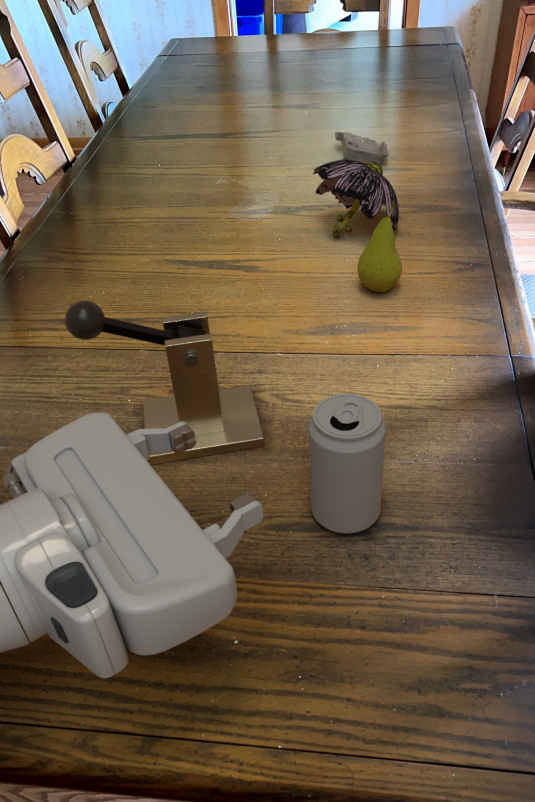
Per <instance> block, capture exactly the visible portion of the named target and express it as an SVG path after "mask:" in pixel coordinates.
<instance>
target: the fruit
mask: <svg viewBox="0 0 535 802" xmlns="http://www.w3.org/2000/svg"><path fill="white" fill-rule="evenodd" d="M395 203H396V202H395V201H392V204H391V210H390V212H389V215H388V216H387V215H386V216H385V217H383V218H382V219H381V220H380V221H379V222H378V224H377V226H376V227H375V229H374V230H373V232H372V235H371V237H370V239H369V240H368V243H367V245H366V247H365V248H364V250H363V251H362V252H361V254H360V256H359V258H358V262H357V267H356V268H357V269H356V270H357V276H358V278H359V281H360V282H361V283H362V284H363V285H364V286H365V287H366V288H367V289H369V290H370V291H372V292H374V293H386V292H388V291H390V290H391V289H392V288H393V287H394V286H395V284H397V283H398V282H399V280H400V278H401V276H402V272H403V263H402V260H401V257H400V255H399V252H398V251H397V247H396V239H395V233H394V232H395V231H393V228H392V223H391V219H390V216H391V214H392V211H393V208H394V205H395Z"/></svg>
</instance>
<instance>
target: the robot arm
mask: <svg viewBox="0 0 535 802" xmlns="http://www.w3.org/2000/svg"><path fill="white" fill-rule="evenodd" d="M195 445H196V439H195V433H194V431H193V430H192V429H191V428H190V427H189V426H188V425H187V424H186V423H185V422H184V421H181V422H179V423H177V424H174V425H172V426H170V427H168V428H166V429H164V428H153V429H145V428H138V429H135V430H133V431H131V432H129V433H127V434H126V432H125V431H124V430H123V429H122V427H121V426H120V425H119V424H118V423H117V422H116V421H115V419H114V418H113V416H112V415H111V414H110V413H109V412H103V411H101V412H90V413H88V414H85V415H83V416H81V417H78V418H77V419H75V420H73V421H71V422H69V423H67V424H66V425H64V426H62V427H60V428H58V429H56V430H55V431H52V432H50V433H49V434H48V435H46V436H45V437H43V438H41V439H40V440H38V441H37V442H35V443H34V444H32V446H30V447H29V448H28V450H27V451H26V452H24V453H21V454H19V455H17V456H16V457H15V458H12V459H11V462H10V464H9V466H8V467H7V468H6V472H5V474H4V476H3V477H2V478H3V479H2V482H3V486H4V487H5V489H6V491H7V492H8V493H9V494H10V496H11V498H12V499H10V500H8V501H6V502H3V503H1V504H0V654H1V653H4V652H7V651H11V650H14V649H19V648H21V647H25V646H27V645H29V644H31V643H33V642H34V641H36V640H38V639H40V638H41V637H43V636H46V635H48V637H49V638H50V639H51V640H52V641H53V642H55V643H56V644H58V645H59V646H60V647H61V648H63V649H64V650H65V651H66V652H68V653H69V654H70V655H71V656H72V657H74V658H75V659H76V660H77V661H79V662H80V663H81V665H83V666H85V668H87V669H88V670H89V671H90V672H92V673H93V674H94V675H95V676H96V677H98V678H101V679H108V678H112V677H114V676H115V675H117V674H118V673H120V672H122V670H124V669H125V668H126V667H127V665H128V664H129V654H128V652H127V651H129V652H131V653H133V654H135V655H138V656H154V655H158V654H160V653H163V652H166V651H168V650H170V649H173V648H175V647H178V646H179V645H182V644H183V643H185V642H187V641H189V640H191V639H192V638H194V637H197V636H198V635H200V634H202V633H204V632H206V631H207V630H209V629H211V628H212V627H214V626H216V625H217V624H219V623H220V622H222V621H223V620H225V619H226V618H227V617H228V616H230V614H231V613H232V612H233V609H234V607H235V605H236V603H237V600H238V587H237V586H238V585H237V579H236V574H235V570H234V568H233V566H232V565H231V564H230V562H229V561H228V560H227V559H228V558H229V557H231V556H232V554H233V553H234V550H235V549H236V547H237V545H239V542H240V541H241V539H242V537H243V535H244V532H245V531H247V530H250V529H251V528H253V527H254V526H256V525H257V524H259V523H261V522H262V521H263V519H264V517H265V514H264V505H262V504H261V503H260V501H259V500H257V498H255V496H254V495H253V494H252V493H251V492H245V493H243V494H242V496H241V497H236V498H234V499H232V500H231V501H229V509H230V511H231V512H230V515H229V517H228V518H227V520H226V521H225V522H224V523H223V525H222V526H221V528H220V526H219V525H218V524H217V523H213V524H211V525H209V526H208V527H206V528H204V529H203V528H202V527H201V526H200V525H199V523H198V522H196V520H195V519H194V518H193V516H192V515H191V514H190V512H189V511H188V509H186V507H185V506H184V505H183V503H181V501H180V499H178V498H177V496H176V495H175V494H174V492H173V491H172V490H171V489H170V488H169V486H168V485H167V484H166V483H165V482H164V480H163V479H162V478H161V477H160V475H159V474H158V473H157V471H156V470H155V468H154V467H153V465H150V464H149V463H148V462H147V460H149V459H150V455H149V454H151V453H157V452H164V451H171V450H173V451H174V452H175V454H176V455H179V454H182V453H184V452H185V451H186V450H189V449H192V448H193V447H194V446H195ZM13 471H14V472H13Z"/></svg>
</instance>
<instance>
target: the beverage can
mask: <svg viewBox="0 0 535 802" xmlns="http://www.w3.org/2000/svg"><path fill="white" fill-rule="evenodd" d="M386 430H387V429H386V421H385V420H384V418H383V414H382V410H381V408H380V407H379V405H378V404H377V403H376V402H375V401H374V400H372V399H370V398H368V397H367V396H363V395H361V394H356V393H338V394H333V395H330V396H328V397H325V398H324V399H322V400H321V401H319V402H318V403H317V405H315V407H314V409H313V412H312V416H311V418H310V420H309V421H308V451H309V454H308V456H309V483H310V484H309V485H310V486H309V488H310V490H309V491H310V510H311V514H312V515H313V517H314V519H315V520H316V522H317V523H318V524H320V525H321V526H322V527H323V528H324V529H327V530H329V531H331V532H334V533H339V534H354V533H355V534H356V533H359V532H362V531H365V530H367V529H369V528H370V527H372V526H373V525H374V524H375V523H376V521H378V518H379V516H380V514H381V509H382V493H383V477H384V462H385V445H386Z"/></svg>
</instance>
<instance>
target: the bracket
mask: <svg viewBox="0 0 535 802" xmlns="http://www.w3.org/2000/svg"><path fill="white" fill-rule="evenodd" d="M161 319H162V320H161V322H162V327H163V330H164V331H168V332H173V333H175V331H176V328H177V326H178V324H179V325H183V326H187V327H191V328H196V329H200V330H204V331H205V333H206V334H205V335H199V336H192V337H185V338H178V339H171V340H165V345H164V348H165V354H166V359H167V365H168V370H169V375H170V381H171V386H172V391H173V396H169V397H163V398H156V399H148V400H144V401H142V404H143V405H142V408H143V411H142V412H143V426H144V427H143V429H153V428H164V429H166V428H168V427H170V426H172V425H174V424H177V423H179V422H181V421H184V422H185V423H186V424H187V425H188V426H189V427H190V428H191V429H192V430H193V431H194V433H195V439H196V445H195V446H194V447H193V448H192V449H189V450H186V451H185V452H184V453H182V454H179V455H176V454H175V452H174V451H173V450H171V451H164V452H157V453H151V454H149V455H150V459H149V460H147V462H148V463H149V464H150V465H151V466H153V465H158V464H164V463H171V462H176V461H182V460H189V459H196V458H201V457H208V456H215V455H220V454H226V453H233V452H239V451H246V450H251V449H257V448H264V447H265V439H264V434H263V431H262V426H261V423H260V418H259V415H258V410H257V406H256V402H255V398H254V394H253V390H252V385H251V384H248V385H247V384H246V385H240V386H235V387H227V388H222V389H221V388H219V382H218V374H217V366H216V359H215V351H214V344H213V337H212V333H211V331H210V323H209V317H208V311H207V310H205V311H198V312H192V313H191V312H190V313H184V314H178V315H170V316H163V317H161Z"/></svg>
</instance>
